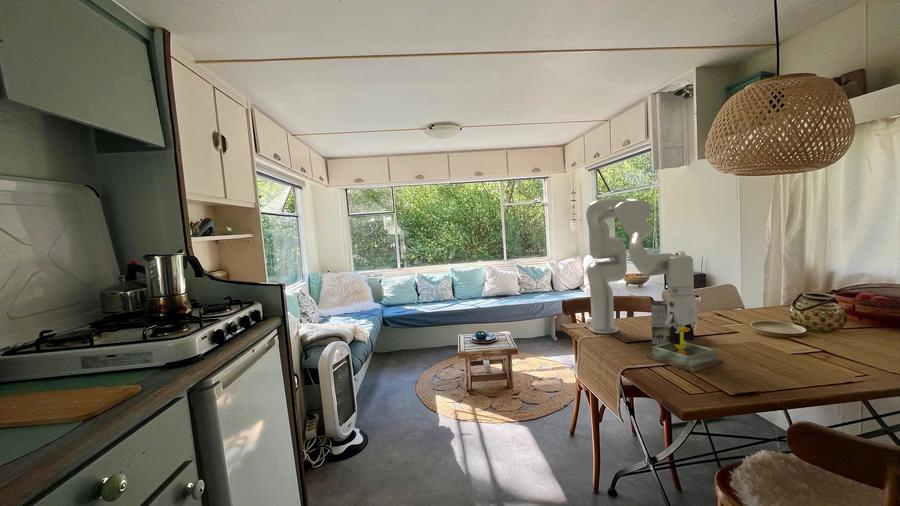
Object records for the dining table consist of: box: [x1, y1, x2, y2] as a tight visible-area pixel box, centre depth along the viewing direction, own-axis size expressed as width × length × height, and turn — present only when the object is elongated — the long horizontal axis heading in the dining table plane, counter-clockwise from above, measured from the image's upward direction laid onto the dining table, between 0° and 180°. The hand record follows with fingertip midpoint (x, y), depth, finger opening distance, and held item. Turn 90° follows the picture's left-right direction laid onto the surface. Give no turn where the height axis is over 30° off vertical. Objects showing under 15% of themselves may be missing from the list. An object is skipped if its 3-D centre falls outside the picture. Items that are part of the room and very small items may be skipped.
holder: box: [645, 341, 723, 374], centre depth 121 cm, size 16×16×4 cm
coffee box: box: [650, 300, 670, 346], centre depth 139 cm, size 9×6×16 cm
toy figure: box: [675, 326, 691, 354], centre depth 121 cm, size 7×4×12 cm, turn 102°
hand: (681, 341), depth 121 cm, fingers closed on toy figure, 6 cm apart
